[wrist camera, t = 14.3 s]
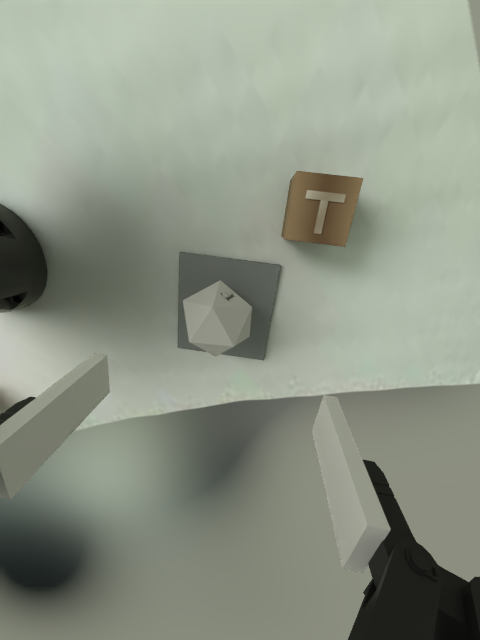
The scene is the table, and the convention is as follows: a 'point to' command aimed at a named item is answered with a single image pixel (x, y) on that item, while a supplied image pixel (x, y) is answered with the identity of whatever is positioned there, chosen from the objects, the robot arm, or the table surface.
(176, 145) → the table surface
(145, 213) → the table surface
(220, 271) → the grey mat
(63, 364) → the table surface
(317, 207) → the letter block
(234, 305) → the die
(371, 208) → the table surface
